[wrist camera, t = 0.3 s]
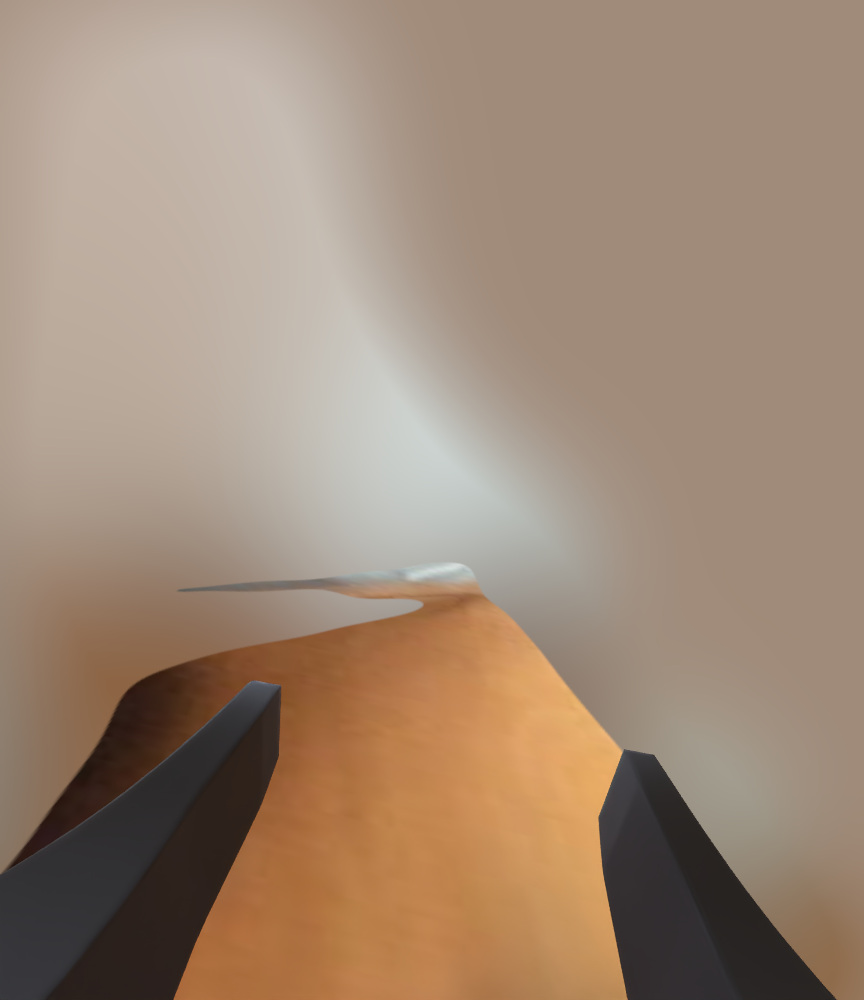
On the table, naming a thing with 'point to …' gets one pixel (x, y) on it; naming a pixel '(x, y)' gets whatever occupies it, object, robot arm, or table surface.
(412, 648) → the table surface
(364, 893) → the table surface
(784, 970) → the robot arm
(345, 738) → the table surface
